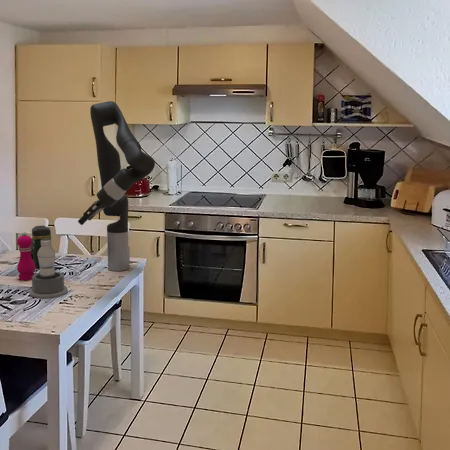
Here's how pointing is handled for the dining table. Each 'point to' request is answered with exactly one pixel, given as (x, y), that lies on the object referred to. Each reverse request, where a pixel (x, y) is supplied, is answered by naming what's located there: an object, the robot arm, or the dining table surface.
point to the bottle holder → (48, 286)
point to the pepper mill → (25, 258)
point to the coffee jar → (39, 241)
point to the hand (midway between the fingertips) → (83, 221)
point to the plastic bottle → (46, 260)
